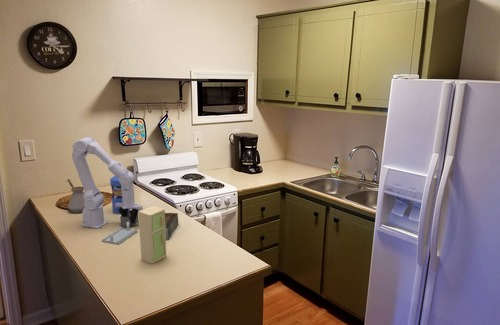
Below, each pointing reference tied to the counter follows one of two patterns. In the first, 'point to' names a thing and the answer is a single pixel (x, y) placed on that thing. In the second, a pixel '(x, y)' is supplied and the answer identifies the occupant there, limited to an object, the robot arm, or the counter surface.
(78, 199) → the coffee pot
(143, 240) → the toy refrigerator
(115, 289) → the counter surface
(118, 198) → the water bottle
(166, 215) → the beverage carton
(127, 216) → the block
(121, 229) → the tray
